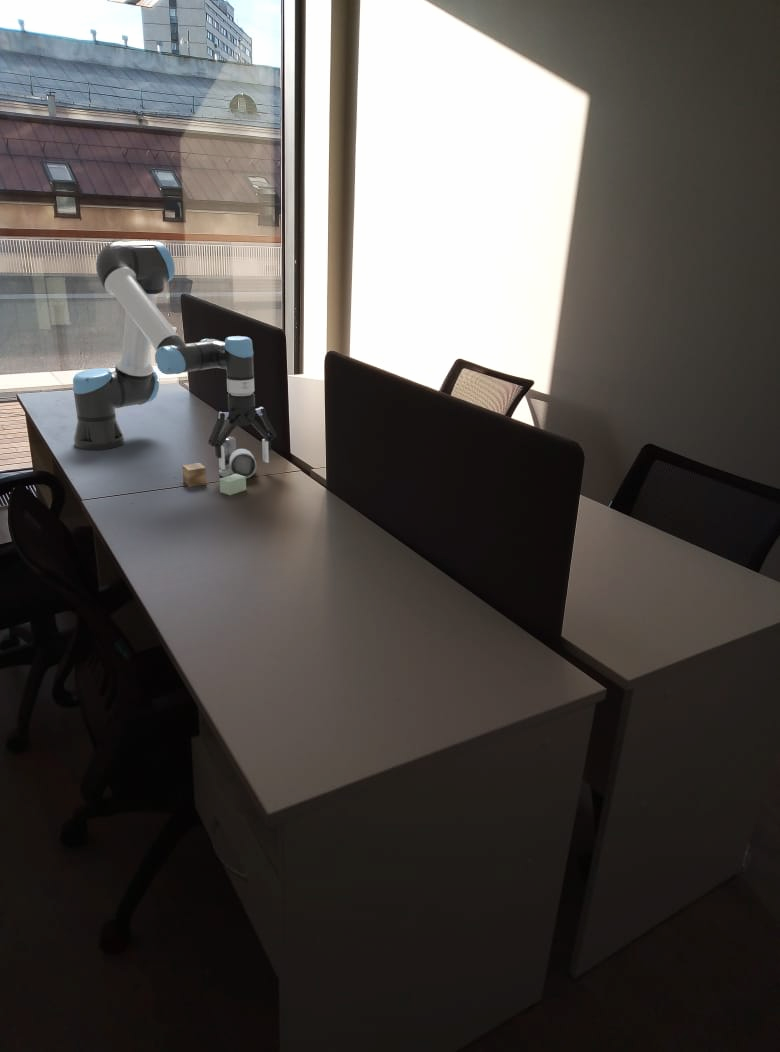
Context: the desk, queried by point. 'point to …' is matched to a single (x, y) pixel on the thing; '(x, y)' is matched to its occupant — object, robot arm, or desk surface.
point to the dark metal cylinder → (229, 448)
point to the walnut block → (194, 474)
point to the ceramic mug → (240, 464)
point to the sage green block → (232, 484)
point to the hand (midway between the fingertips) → (244, 464)
